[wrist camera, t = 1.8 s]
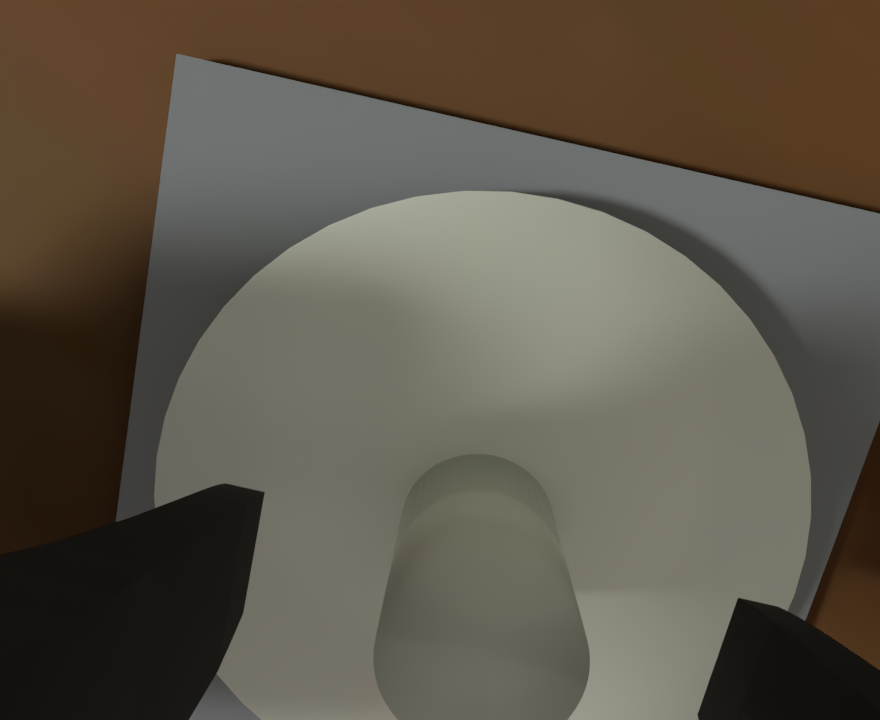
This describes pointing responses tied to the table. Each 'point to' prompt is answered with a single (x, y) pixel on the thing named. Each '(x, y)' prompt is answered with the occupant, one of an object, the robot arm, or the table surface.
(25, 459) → the table surface
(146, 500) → the mat
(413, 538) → the lid
